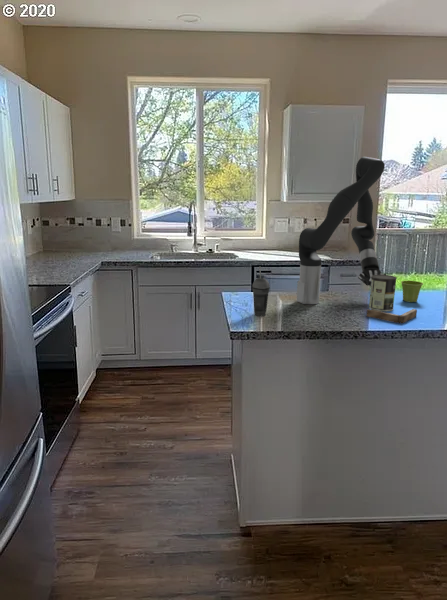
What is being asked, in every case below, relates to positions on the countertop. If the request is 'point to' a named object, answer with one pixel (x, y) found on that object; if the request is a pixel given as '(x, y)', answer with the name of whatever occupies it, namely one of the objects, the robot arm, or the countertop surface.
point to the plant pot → (411, 290)
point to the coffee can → (382, 292)
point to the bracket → (392, 315)
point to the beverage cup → (260, 295)
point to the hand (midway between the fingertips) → (375, 292)
